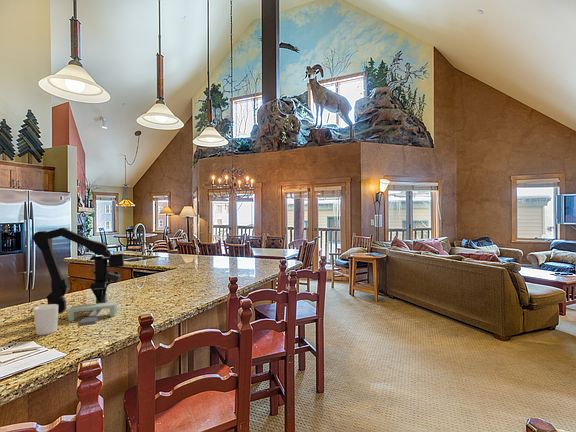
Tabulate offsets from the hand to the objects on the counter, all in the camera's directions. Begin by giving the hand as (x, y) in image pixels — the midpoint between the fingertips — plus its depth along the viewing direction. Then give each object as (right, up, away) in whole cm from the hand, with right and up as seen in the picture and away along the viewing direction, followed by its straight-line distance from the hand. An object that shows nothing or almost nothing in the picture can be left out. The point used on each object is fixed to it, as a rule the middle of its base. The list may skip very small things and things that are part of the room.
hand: (101, 299), depth 165 cm
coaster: (+8, -4, -24) cm, 26 cm away
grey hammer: (+3, -4, -8) cm, 9 cm away
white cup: (-2, -4, -35) cm, 36 cm away
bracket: (+5, -4, -16) cm, 17 cm away
